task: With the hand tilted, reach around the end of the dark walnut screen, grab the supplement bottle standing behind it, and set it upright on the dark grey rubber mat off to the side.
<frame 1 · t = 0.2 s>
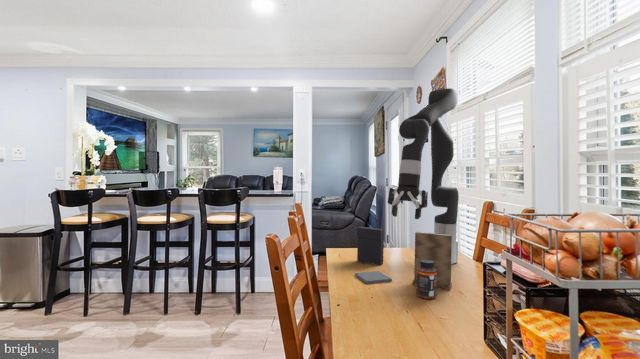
hand: (405, 217, 123), 23 cm above the table, tool pointing down, fingers open, 8 cm apart
dark gray upright block: (370, 263, 147), on the table
supplement bottle: (426, 297, 107), on the table
screen: (432, 285, 118), on the table
pad: (372, 278, 125), on the table
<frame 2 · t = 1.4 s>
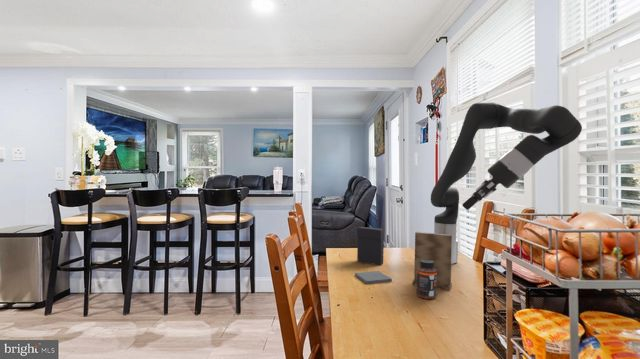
hand: (465, 206, 102), 29 cm above the table, tool tilted 45°, fingers open, 8 cm apart
nothing on the table moved.
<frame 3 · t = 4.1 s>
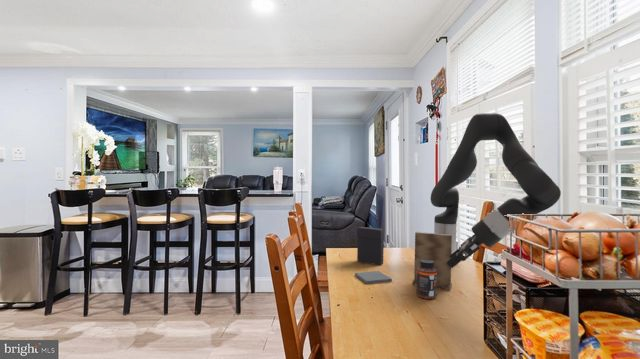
hand: (450, 262, 104), 12 cm above the table, tool tilted 45°, fingers open, 8 cm apart
nothing on the table moved.
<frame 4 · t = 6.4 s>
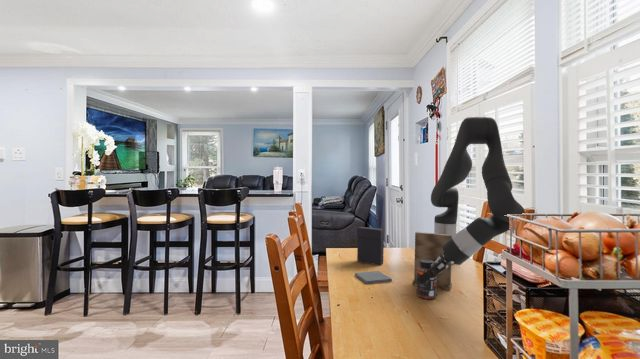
hand: (421, 278, 108), 5 cm above the table, tool tilted 45°, fingers closed on supplement bottle, 6 cm apart
supplement bottle: (426, 297, 107), on the table, touching gripper
everything else where it was.
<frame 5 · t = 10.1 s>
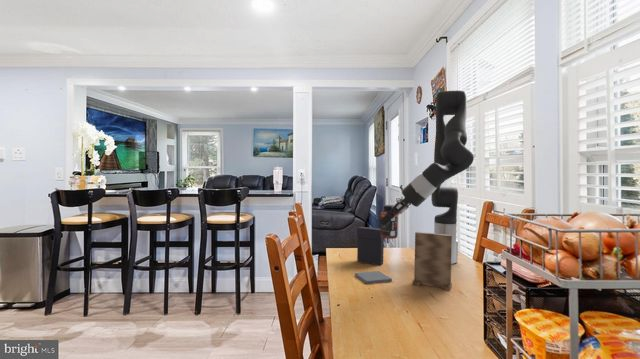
hand: (384, 222, 120), 22 cm above the table, tool tilted 45°, fingers closed on supplement bottle, 6 cm apart
supplement bottle: (388, 237, 119), point 16 cm above the table, touching gripper
everything else where it was.
when the fingers open (8 cm above the table, at t = 13.9 s): supplement bottle drops 1 cm, resting on pad.
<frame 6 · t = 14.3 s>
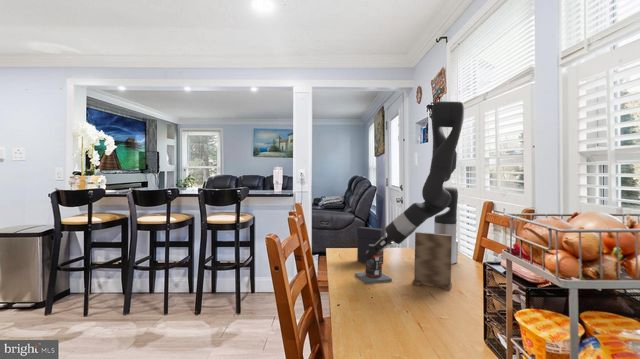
hand: (369, 256, 125), 8 cm above the table, tool tilted 45°, fingers open, 8 cm apart
supplement bottle: (373, 276, 125), point 1 cm above the table, touching pad
everything else where it was.
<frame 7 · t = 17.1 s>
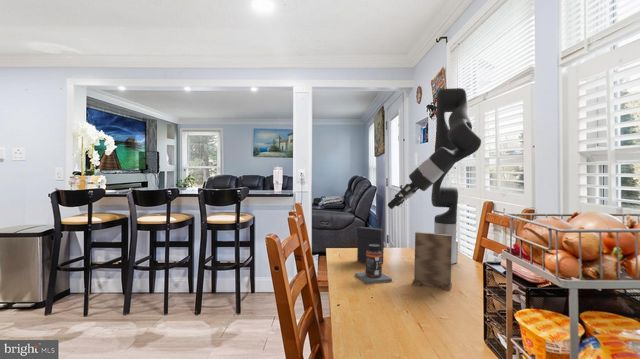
hand: (392, 205, 121), 27 cm above the table, tool tilted 45°, fingers open, 8 cm apart
nothing on the table moved.
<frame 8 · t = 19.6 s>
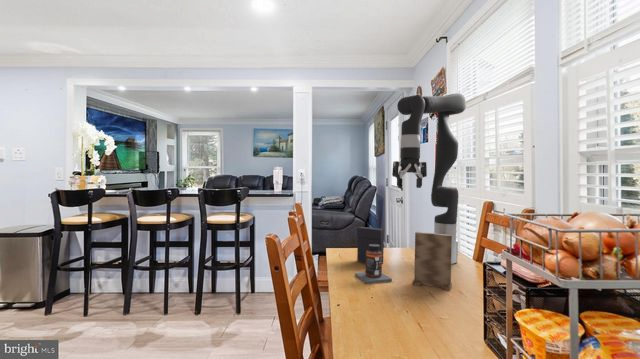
hand: (409, 187, 134), 33 cm above the table, tool pointing down, fingers open, 8 cm apart
nothing on the table moved.
at the end: supplement bottle inside the target area on the pad (0.3 cm from its centre), point 0.8 cm above the pad's base; supplement bottle tilted 0°; the gripper is holding nothing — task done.
